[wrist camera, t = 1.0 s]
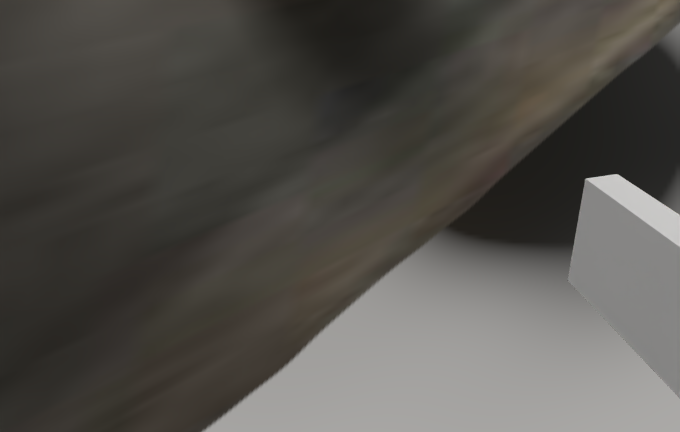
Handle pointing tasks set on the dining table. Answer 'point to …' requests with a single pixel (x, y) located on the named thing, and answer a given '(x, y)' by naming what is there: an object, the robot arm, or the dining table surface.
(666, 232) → the robot arm
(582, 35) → the dining table surface
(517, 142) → the dining table surface
